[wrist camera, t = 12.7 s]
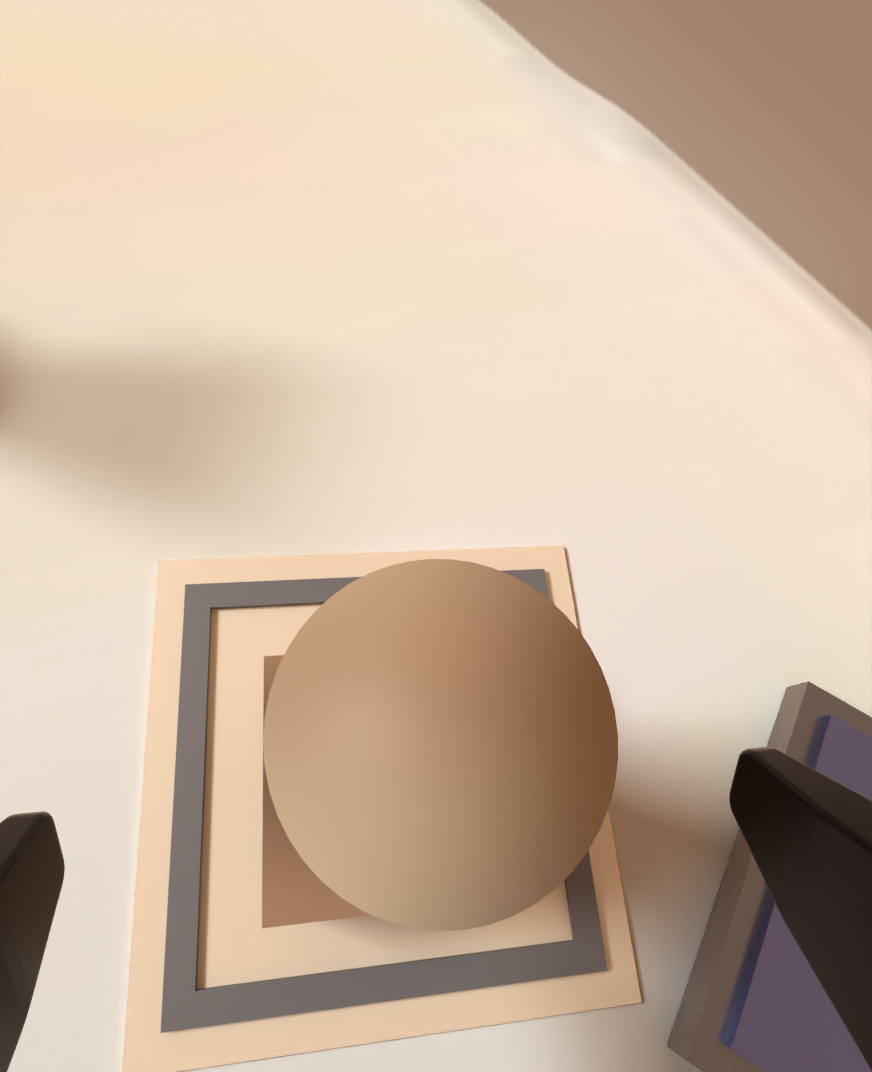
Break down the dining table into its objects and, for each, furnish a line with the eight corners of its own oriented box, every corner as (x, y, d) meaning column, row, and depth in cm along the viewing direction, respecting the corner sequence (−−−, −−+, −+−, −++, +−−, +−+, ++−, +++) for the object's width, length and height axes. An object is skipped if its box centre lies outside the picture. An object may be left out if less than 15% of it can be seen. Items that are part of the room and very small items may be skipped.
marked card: (640, 1001, 16) (645, 1005, 16) (123, 1078, 14) (119, 1083, 14) (562, 546, 21) (565, 543, 20) (160, 562, 19) (157, 558, 19)
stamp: (495, 880, 17) (783, 1024, 6) (277, 906, 16) (120, 1130, 5) (472, 668, 19) (651, 469, 8) (277, 680, 18) (167, 479, 7)
